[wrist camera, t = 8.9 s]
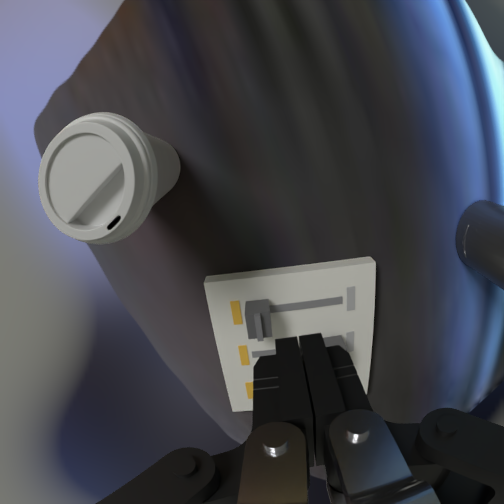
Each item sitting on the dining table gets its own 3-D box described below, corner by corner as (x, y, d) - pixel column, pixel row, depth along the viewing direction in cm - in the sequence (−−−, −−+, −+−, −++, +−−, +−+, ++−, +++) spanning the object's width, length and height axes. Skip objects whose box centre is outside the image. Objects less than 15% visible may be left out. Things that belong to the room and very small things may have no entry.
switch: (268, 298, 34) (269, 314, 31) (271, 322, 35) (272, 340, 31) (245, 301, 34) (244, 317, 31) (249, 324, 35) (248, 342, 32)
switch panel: (369, 256, 35) (376, 262, 33) (363, 385, 41) (367, 394, 39) (206, 276, 36) (203, 283, 34) (233, 402, 42) (232, 412, 40)
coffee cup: (128, 221, 34) (56, 267, 20) (103, 144, 31) (17, 146, 17) (205, 195, 33) (168, 228, 19) (179, 112, 30) (123, 84, 16)
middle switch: (341, 334, 35) (348, 352, 32) (340, 354, 36) (347, 372, 33) (320, 338, 35) (326, 355, 32) (321, 357, 36) (326, 376, 33)
